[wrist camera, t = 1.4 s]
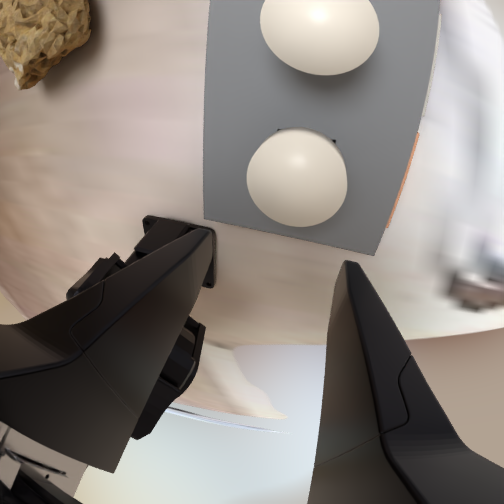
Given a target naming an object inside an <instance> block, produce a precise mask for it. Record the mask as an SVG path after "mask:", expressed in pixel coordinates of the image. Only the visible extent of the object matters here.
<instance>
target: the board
mask: <svg viewBox="0 0 504 504" xmlns="http://www.w3.org/2000/svg"><path fill="white" fill-rule="evenodd" d="M369 1H370V3H371V4H372V6H373V8H374V10H375V12H376V14H377V18H378V22H379V38H378V42H377V45H376V47H375V49H374V51H373V53H372V54H371V55H370V57H369V58H368V59H367V60H366V61H365V62H364V63H363V64H361V65H360V66H358V67H357V68H355V69H353V70H351V71H348V72H345V73H341V74H337V75H315V74H310V73H306V72H303V71H300V70H297V69H295V68H293V67H291V66H289V65H288V64H286V63H285V62H283V61H282V60H281V59H279V58H278V57H277V56H276V55H275V54H274V53H273V52H272V50H271V49H270V48H269V46H268V45H267V43H266V41H265V39H264V37H263V34H262V31H261V25H260V14H261V9H262V6H263V3H264V2H265V0H210V6H209V19H208V33H207V48H206V67H205V91H204V131H203V200H204V219H206V220H211V221H216V222H221V223H226V224H231V225H236V226H241V227H246V228H250V229H255V230H260V231H265V232H269V233H274V234H279V235H283V236H288V237H293V238H297V239H302V240H306V241H311V242H315V243H320V244H324V245H329V246H333V247H337V248H342V249H346V250H350V251H355V252H359V253H363V254H368V255H372V256H374V255H375V252H376V250H377V248H378V245H379V243H380V240H381V238H382V235H383V233H384V230H385V228H388V226H389V224H390V221H391V219H392V216H393V213H394V211H395V208H396V205H397V203H398V200H399V197H400V194H401V191H402V189H403V186H404V183H405V180H406V177H407V174H408V171H409V167H410V164H411V161H412V158H413V155H414V151H415V148H416V144H417V141H418V137H419V133H418V132H417V131H418V128H419V124H420V120H421V116H423V117H424V115H425V110H426V106H427V102H428V97H429V93H430V88H431V83H432V78H433V73H434V68H435V62H436V56H437V49H438V42H439V34H440V26H441V16H442V14H440V13H439V8H440V0H369ZM289 127H306V128H310V129H314V130H316V131H319V132H321V133H322V134H324V135H326V136H327V137H328V138H330V139H333V142H334V143H335V144H336V146H337V147H338V148H339V150H340V152H341V153H342V156H343V158H344V161H345V166H346V175H347V192H346V196H345V199H344V202H343V204H342V205H341V207H340V208H339V210H338V211H337V212H336V213H335V214H334V215H333V216H332V217H330V218H329V219H327V220H326V221H324V222H322V223H319V224H316V225H313V226H308V227H294V226H288V225H284V224H281V223H279V222H276V221H275V220H273V219H271V218H269V217H268V216H266V215H265V214H264V213H263V212H262V211H261V210H260V209H259V208H258V207H257V206H256V204H255V203H254V201H253V200H252V198H251V196H250V193H249V190H248V187H247V169H248V166H249V163H250V161H251V158H252V157H253V155H254V154H255V152H256V151H257V150H258V148H259V147H260V146H261V144H262V143H263V142H264V141H265V140H266V139H267V138H268V137H269V136H270V135H272V134H273V133H275V132H277V131H279V130H282V129H285V128H289Z"/></svg>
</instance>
